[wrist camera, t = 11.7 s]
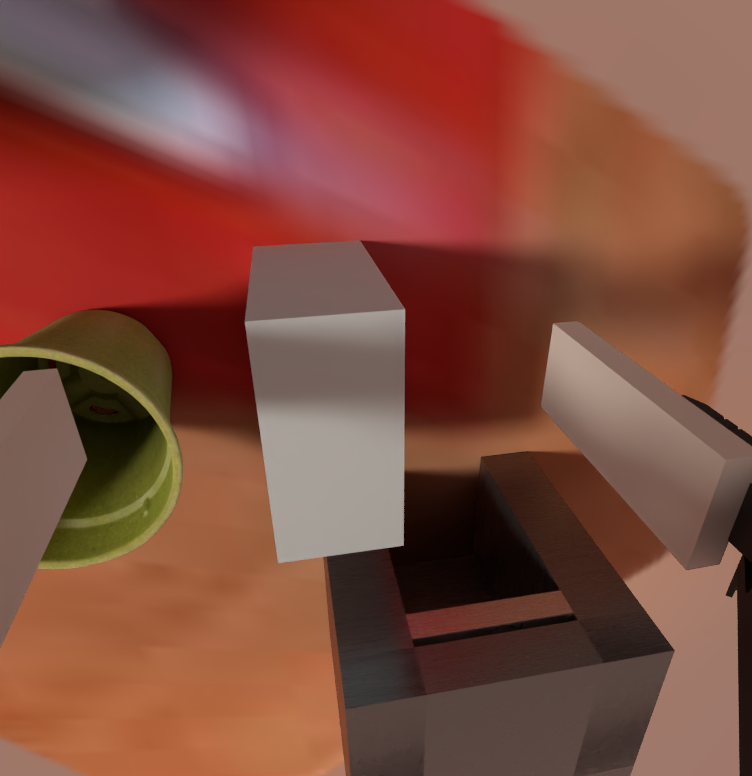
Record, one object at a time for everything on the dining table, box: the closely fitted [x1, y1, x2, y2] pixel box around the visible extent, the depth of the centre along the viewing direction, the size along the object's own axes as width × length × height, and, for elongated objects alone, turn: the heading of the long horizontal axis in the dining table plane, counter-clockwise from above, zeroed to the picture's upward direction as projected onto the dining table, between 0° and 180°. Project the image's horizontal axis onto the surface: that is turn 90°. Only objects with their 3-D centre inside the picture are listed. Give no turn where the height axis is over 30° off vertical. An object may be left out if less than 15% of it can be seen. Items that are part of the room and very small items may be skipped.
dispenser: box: [324, 452, 675, 776], centre depth 30 cm, size 14×13×14 cm
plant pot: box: [0, 310, 183, 569], centre depth 23 cm, size 9×9×9 cm
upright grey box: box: [245, 240, 405, 563], centre depth 24 cm, size 10×5×10 cm, turn 1°
